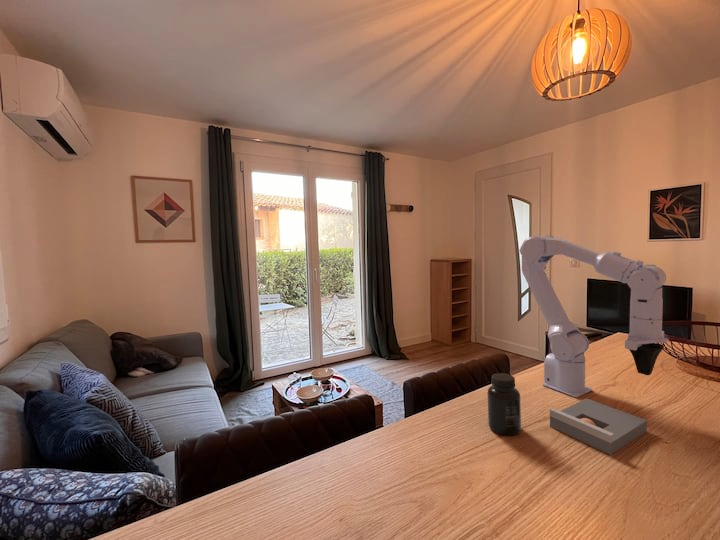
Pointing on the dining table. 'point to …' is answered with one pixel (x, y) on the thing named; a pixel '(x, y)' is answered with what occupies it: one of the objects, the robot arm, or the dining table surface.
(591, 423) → the ball
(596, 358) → the dining table surface
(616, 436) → the hole deck
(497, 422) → the supplement bottle
